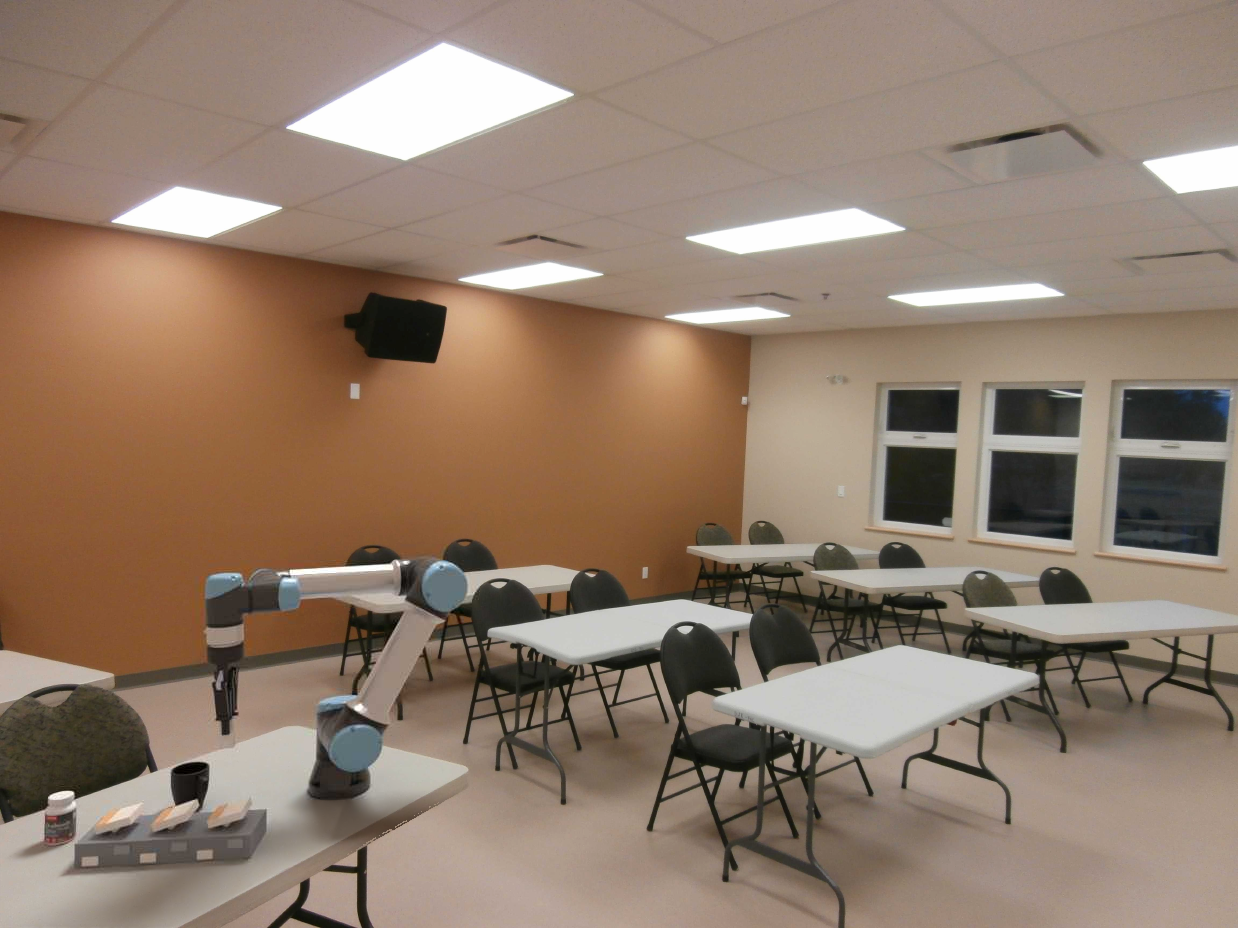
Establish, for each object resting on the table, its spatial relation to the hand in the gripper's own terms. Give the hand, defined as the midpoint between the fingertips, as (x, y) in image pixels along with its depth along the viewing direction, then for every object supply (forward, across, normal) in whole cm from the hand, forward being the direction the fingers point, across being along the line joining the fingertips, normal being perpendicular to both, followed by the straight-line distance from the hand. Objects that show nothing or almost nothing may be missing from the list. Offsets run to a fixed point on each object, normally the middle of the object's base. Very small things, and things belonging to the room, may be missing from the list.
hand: (227, 746), depth 176 cm
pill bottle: (+19, -3, -35) cm, 40 cm away
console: (+19, +6, -10) cm, 22 cm away
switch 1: (+13, +5, -20) cm, 24 cm away
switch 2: (+14, +6, -9) cm, 17 cm away
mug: (+20, -14, -12) cm, 27 cm away
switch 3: (+14, +6, +2) cm, 15 cm away
